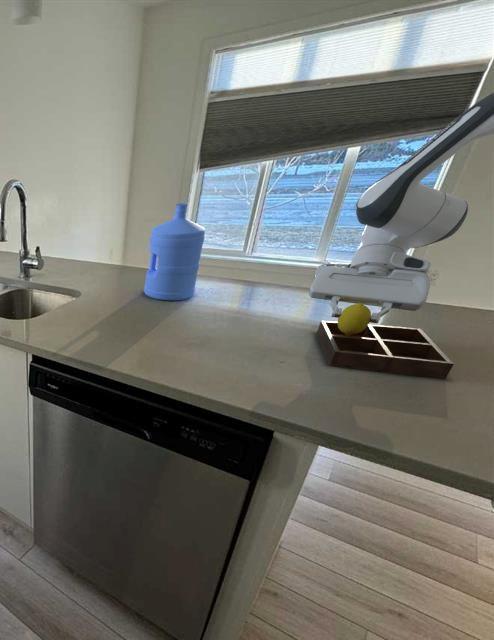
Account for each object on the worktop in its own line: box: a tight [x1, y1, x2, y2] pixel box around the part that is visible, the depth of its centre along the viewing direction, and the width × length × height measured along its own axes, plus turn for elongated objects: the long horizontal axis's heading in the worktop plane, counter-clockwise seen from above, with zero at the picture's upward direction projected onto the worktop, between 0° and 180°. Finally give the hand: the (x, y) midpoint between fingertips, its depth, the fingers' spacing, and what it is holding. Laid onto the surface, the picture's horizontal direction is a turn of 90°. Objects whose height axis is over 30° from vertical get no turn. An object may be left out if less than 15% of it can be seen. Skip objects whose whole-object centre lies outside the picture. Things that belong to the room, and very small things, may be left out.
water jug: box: [143, 202, 206, 302], centre depth 129 cm, size 16×16×28 cm
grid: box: [315, 320, 455, 380], centre depth 90 cm, size 18×18×4 cm
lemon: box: [336, 303, 372, 336], centre depth 93 cm, size 6×6×8 cm
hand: (354, 319), depth 93 cm, fingers closed on lemon, 5 cm apart
